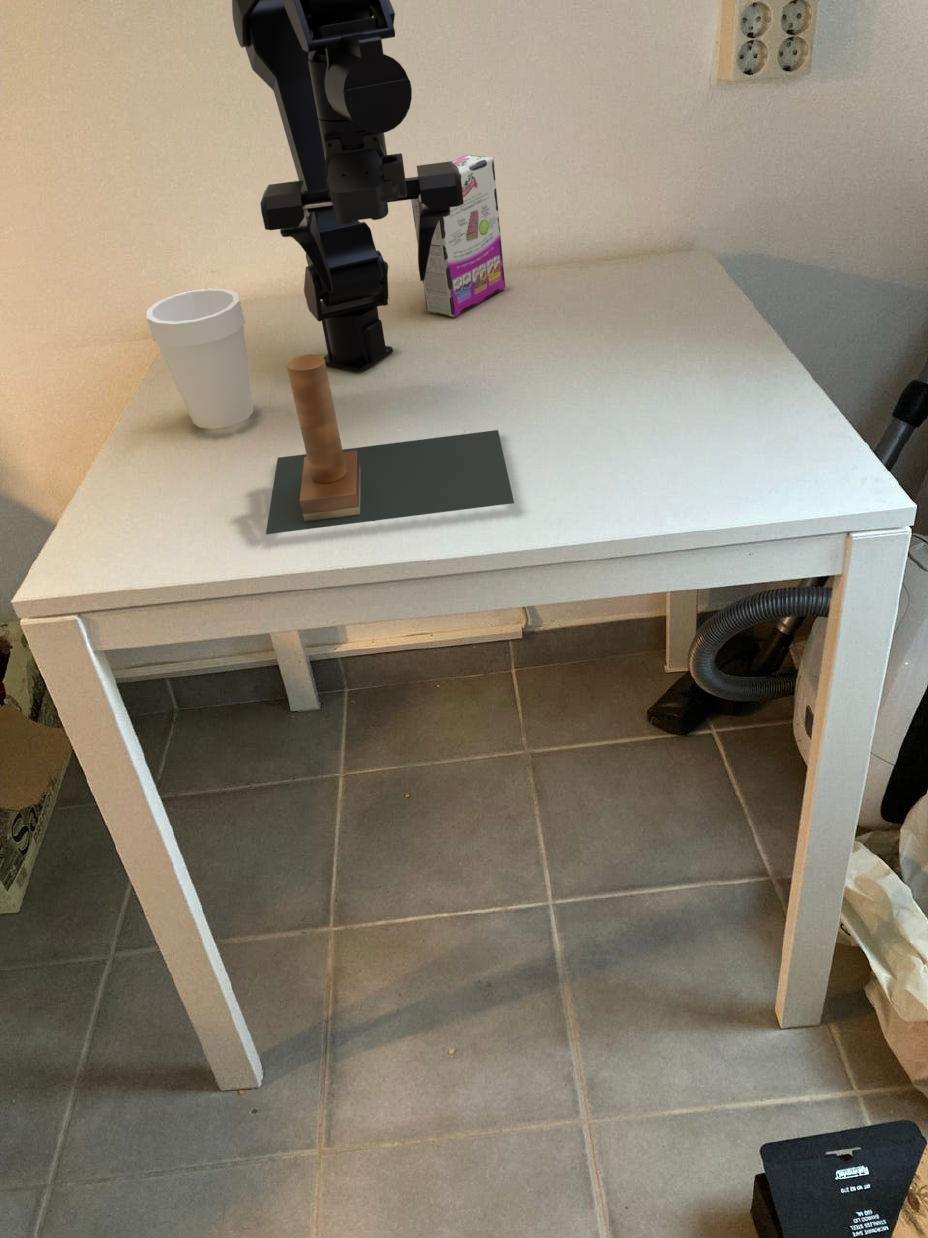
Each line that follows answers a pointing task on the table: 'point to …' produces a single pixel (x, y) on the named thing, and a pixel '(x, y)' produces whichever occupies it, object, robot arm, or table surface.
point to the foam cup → (205, 354)
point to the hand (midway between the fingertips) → (376, 285)
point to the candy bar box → (466, 244)
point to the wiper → (322, 445)
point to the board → (405, 481)
